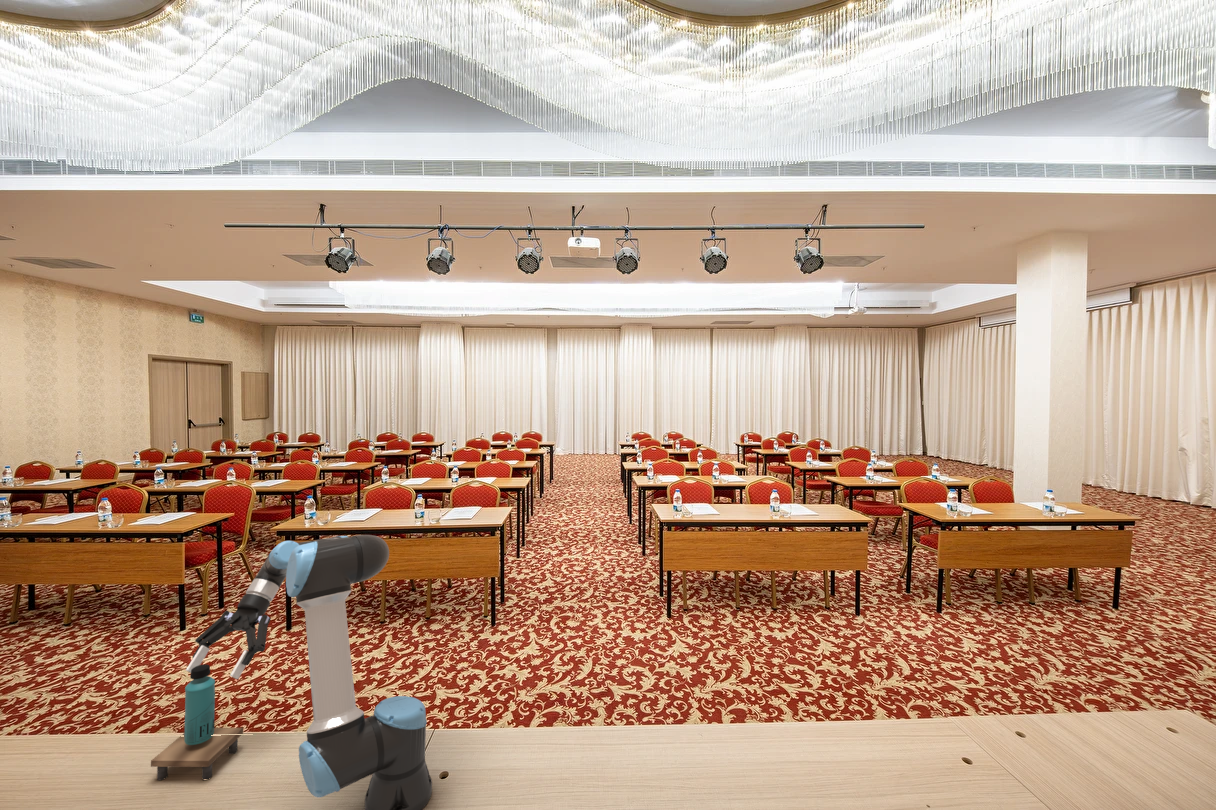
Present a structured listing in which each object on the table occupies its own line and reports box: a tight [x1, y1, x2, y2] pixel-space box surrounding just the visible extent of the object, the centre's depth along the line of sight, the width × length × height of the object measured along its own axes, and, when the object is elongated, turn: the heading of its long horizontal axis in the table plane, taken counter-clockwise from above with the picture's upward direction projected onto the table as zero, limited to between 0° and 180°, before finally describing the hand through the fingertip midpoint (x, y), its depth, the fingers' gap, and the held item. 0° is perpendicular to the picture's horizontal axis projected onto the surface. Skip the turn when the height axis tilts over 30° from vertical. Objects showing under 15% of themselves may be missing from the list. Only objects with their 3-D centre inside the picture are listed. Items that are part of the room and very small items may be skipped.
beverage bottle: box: [183, 663, 216, 745], centre depth 137 cm, size 6×7×20 cm
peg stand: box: [150, 727, 244, 781], centre depth 137 cm, size 14×13×6 cm
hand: (211, 674), depth 140 cm, fingers open, 13 cm apart
